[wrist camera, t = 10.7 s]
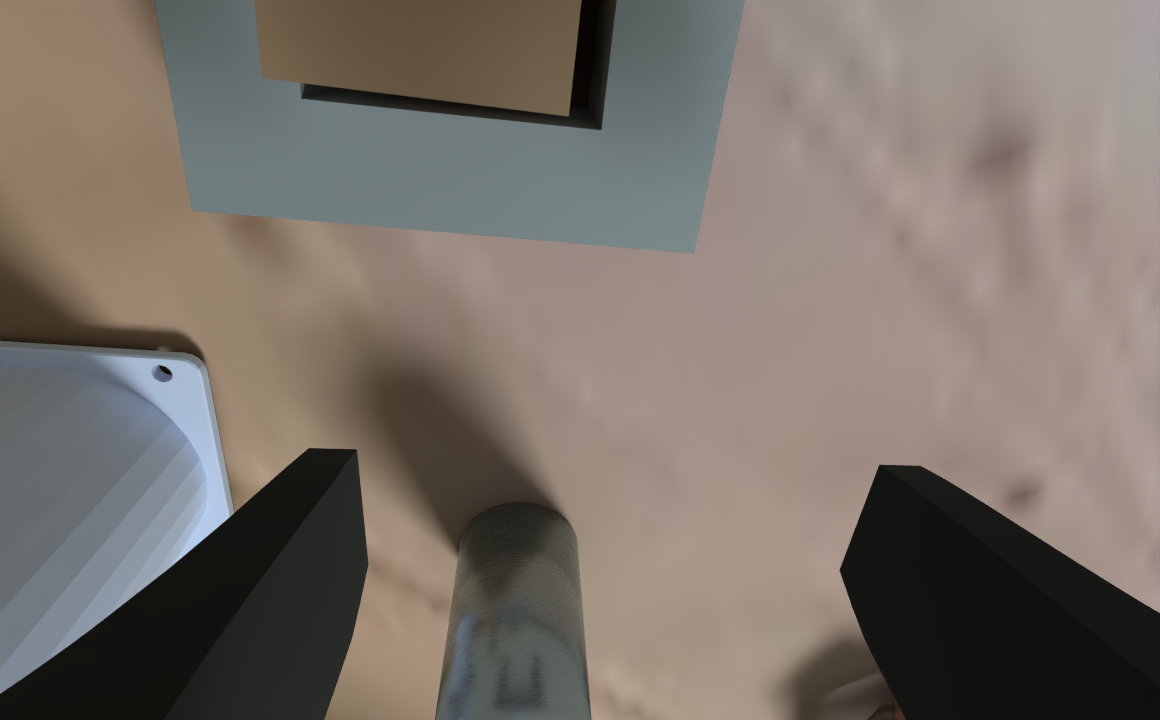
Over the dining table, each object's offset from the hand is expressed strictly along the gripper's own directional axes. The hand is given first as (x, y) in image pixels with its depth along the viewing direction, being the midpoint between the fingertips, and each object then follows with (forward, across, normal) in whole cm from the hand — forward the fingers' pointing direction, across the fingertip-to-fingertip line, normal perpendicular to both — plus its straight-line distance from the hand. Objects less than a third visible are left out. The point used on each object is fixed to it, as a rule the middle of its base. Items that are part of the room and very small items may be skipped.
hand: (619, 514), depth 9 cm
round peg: (+9, +1, +10) cm, 14 cm away
